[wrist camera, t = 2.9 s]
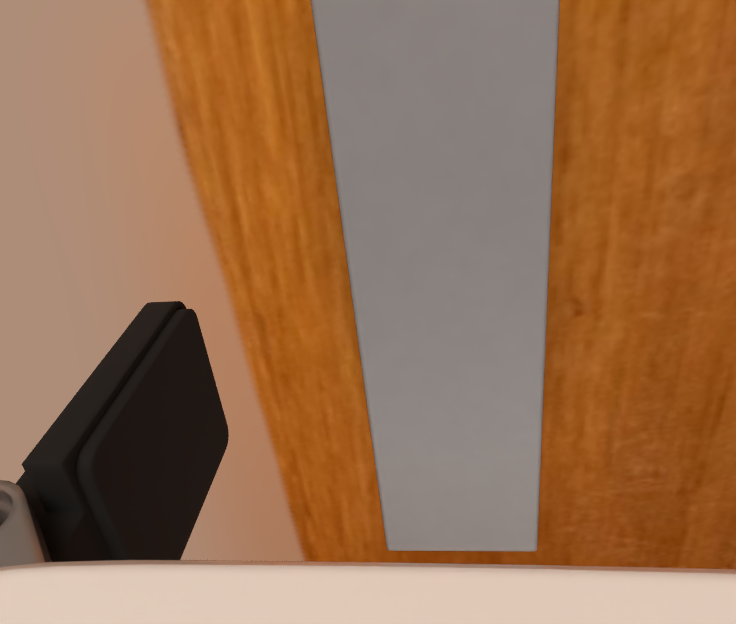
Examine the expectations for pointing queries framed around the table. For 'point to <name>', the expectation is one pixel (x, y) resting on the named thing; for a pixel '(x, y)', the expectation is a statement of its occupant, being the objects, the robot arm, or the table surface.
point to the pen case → (447, 252)
